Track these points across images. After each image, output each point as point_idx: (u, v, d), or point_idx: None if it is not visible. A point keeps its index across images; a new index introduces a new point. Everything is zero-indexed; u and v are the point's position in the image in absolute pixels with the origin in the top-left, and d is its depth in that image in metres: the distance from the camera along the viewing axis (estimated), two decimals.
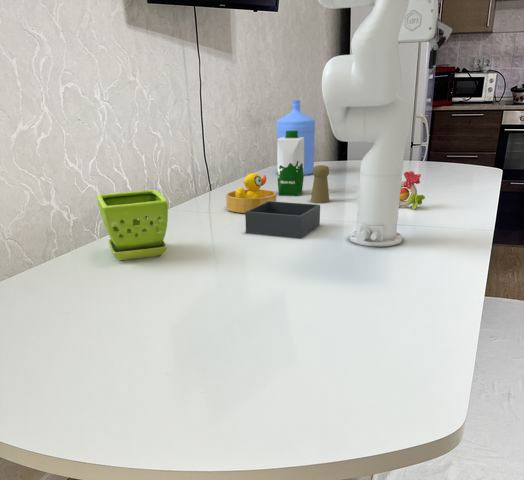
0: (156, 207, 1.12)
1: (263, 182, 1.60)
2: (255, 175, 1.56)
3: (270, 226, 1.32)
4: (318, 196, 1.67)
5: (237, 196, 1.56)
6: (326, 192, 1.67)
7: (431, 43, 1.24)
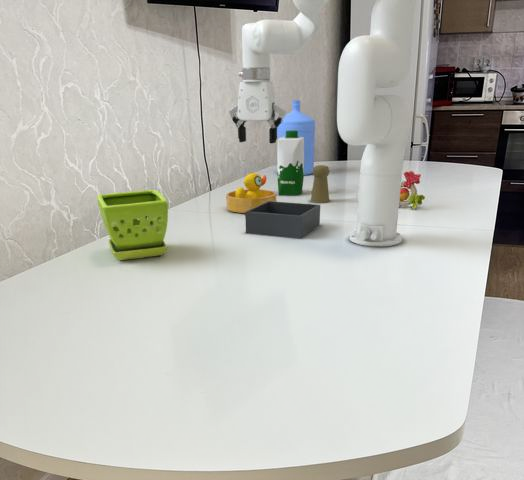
0: (156, 207, 1.12)
1: (263, 182, 1.60)
2: (255, 175, 1.56)
3: (270, 226, 1.32)
4: (318, 196, 1.67)
5: (237, 196, 1.56)
6: (326, 192, 1.67)
7: (269, 122, 1.47)
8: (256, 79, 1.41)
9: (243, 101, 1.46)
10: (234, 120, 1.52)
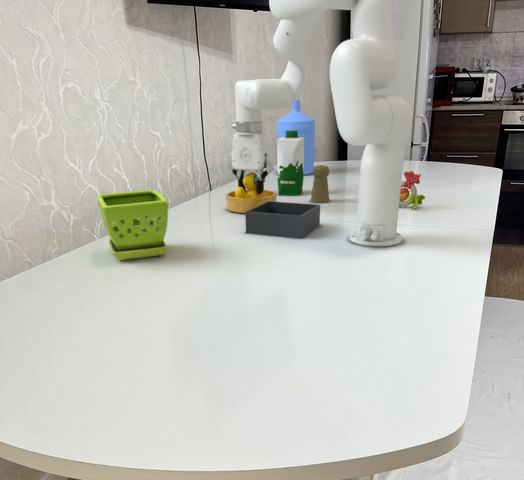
0: (156, 207, 1.12)
1: None
2: (254, 174, 1.57)
3: (270, 226, 1.32)
4: (318, 196, 1.67)
5: (237, 196, 1.56)
6: (326, 192, 1.67)
7: (257, 174, 1.55)
8: (249, 132, 1.48)
9: (237, 152, 1.53)
10: (234, 172, 1.58)
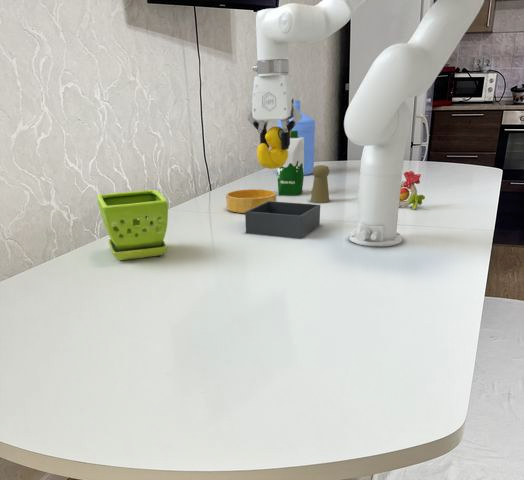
0: (156, 207, 1.12)
1: None
2: (278, 128, 1.33)
3: (270, 226, 1.32)
4: (318, 196, 1.67)
5: (260, 154, 1.32)
6: (326, 192, 1.67)
7: (283, 125, 1.30)
8: (273, 72, 1.24)
9: (258, 98, 1.29)
10: (255, 125, 1.34)
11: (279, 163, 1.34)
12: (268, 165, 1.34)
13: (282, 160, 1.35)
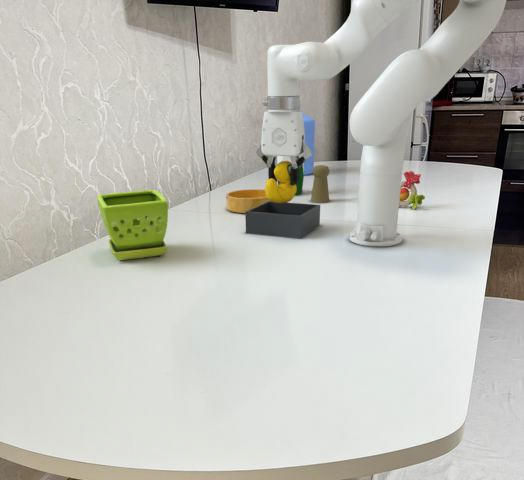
0: (156, 207, 1.12)
1: None
2: (287, 163, 1.30)
3: (270, 226, 1.32)
4: (318, 196, 1.67)
5: (268, 189, 1.30)
6: (326, 192, 1.67)
7: (292, 161, 1.28)
8: (284, 109, 1.22)
9: (268, 134, 1.26)
10: (264, 159, 1.32)
11: (288, 198, 1.32)
12: (276, 200, 1.31)
13: (291, 195, 1.32)
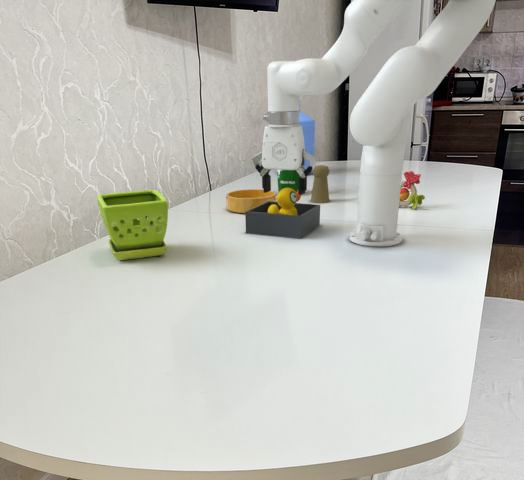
0: (156, 207, 1.12)
1: (298, 198, 1.37)
2: (290, 190, 1.33)
3: (270, 226, 1.32)
4: (318, 196, 1.67)
5: None
6: (326, 192, 1.67)
7: (298, 172, 1.29)
8: (284, 124, 1.23)
9: (268, 148, 1.28)
10: (257, 168, 1.33)
11: None
12: None
13: None
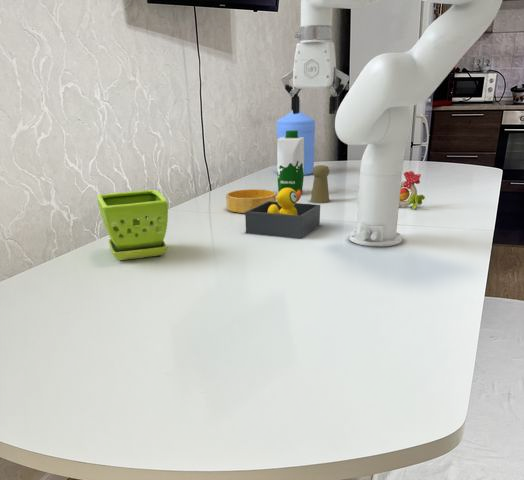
0: (156, 207, 1.12)
1: (298, 198, 1.37)
2: (290, 190, 1.33)
3: (270, 226, 1.32)
4: (318, 196, 1.67)
5: None
6: (326, 192, 1.67)
7: (330, 90, 1.29)
8: (318, 39, 1.24)
9: (300, 65, 1.28)
10: (287, 89, 1.34)
11: None
12: None
13: None
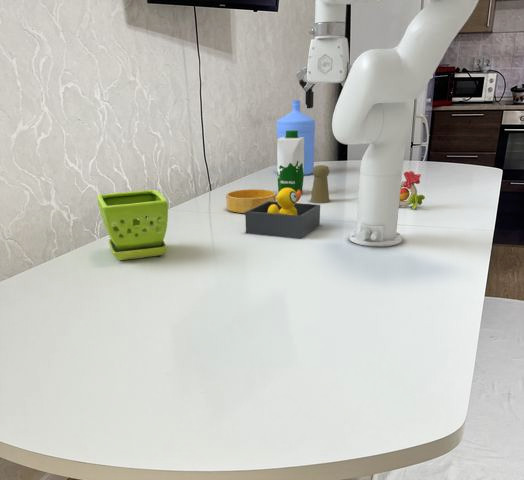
0: (156, 207, 1.12)
1: (298, 198, 1.37)
2: (290, 190, 1.33)
3: (270, 226, 1.32)
4: (318, 196, 1.67)
5: None
6: (326, 192, 1.67)
7: (343, 85, 1.33)
8: (331, 35, 1.27)
9: (314, 61, 1.32)
10: (301, 84, 1.37)
11: None
12: None
13: None
